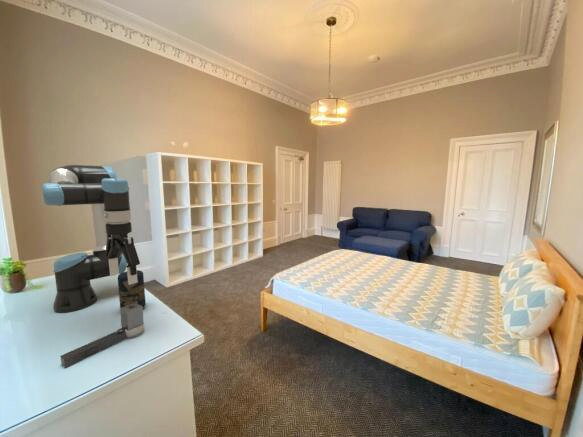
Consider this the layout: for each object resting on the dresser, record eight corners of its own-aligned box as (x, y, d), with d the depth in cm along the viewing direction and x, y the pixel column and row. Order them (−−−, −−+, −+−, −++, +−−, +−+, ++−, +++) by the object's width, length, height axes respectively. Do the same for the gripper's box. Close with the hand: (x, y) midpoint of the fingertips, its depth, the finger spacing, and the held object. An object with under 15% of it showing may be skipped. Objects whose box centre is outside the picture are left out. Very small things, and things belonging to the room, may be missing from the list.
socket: (121, 326, 90) (120, 307, 90) (136, 320, 95) (135, 302, 94) (128, 330, 88) (127, 311, 87) (143, 324, 92) (142, 305, 91)
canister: (118, 317, 103) (114, 276, 101) (122, 307, 111) (118, 269, 109) (145, 311, 107) (142, 272, 105) (146, 302, 116) (143, 265, 113)
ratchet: (59, 361, 77) (56, 340, 76) (138, 325, 97) (136, 308, 96) (67, 370, 73) (64, 348, 72) (147, 331, 93) (146, 313, 92)
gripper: (90, 220, 90) (96, 274, 94) (124, 228, 78) (129, 291, 81) (113, 217, 97) (118, 269, 100) (148, 224, 84) (152, 283, 87)
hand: (123, 279), depth 90 cm, fingers open, 13 cm apart
